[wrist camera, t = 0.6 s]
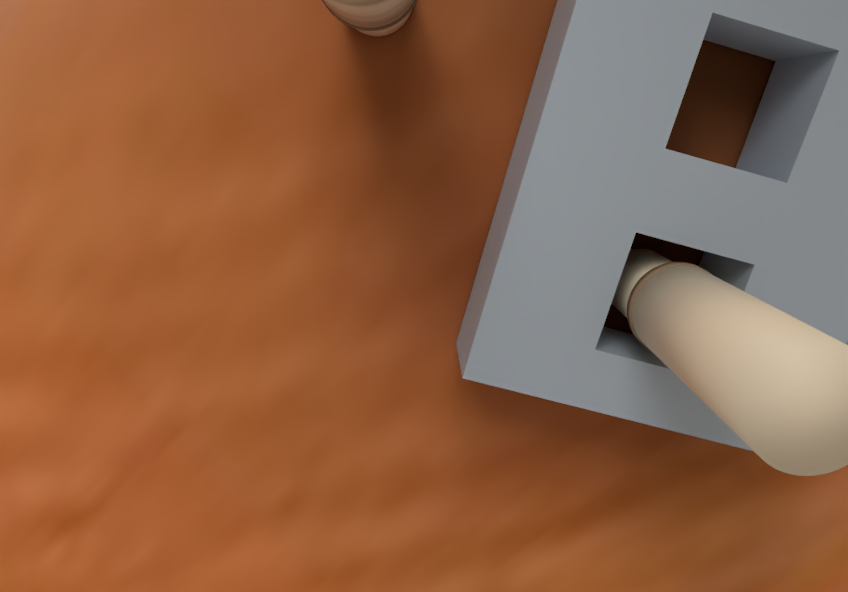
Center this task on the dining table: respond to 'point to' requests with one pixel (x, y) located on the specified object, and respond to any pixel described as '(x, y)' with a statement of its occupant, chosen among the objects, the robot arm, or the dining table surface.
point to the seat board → (677, 233)
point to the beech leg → (372, 14)
